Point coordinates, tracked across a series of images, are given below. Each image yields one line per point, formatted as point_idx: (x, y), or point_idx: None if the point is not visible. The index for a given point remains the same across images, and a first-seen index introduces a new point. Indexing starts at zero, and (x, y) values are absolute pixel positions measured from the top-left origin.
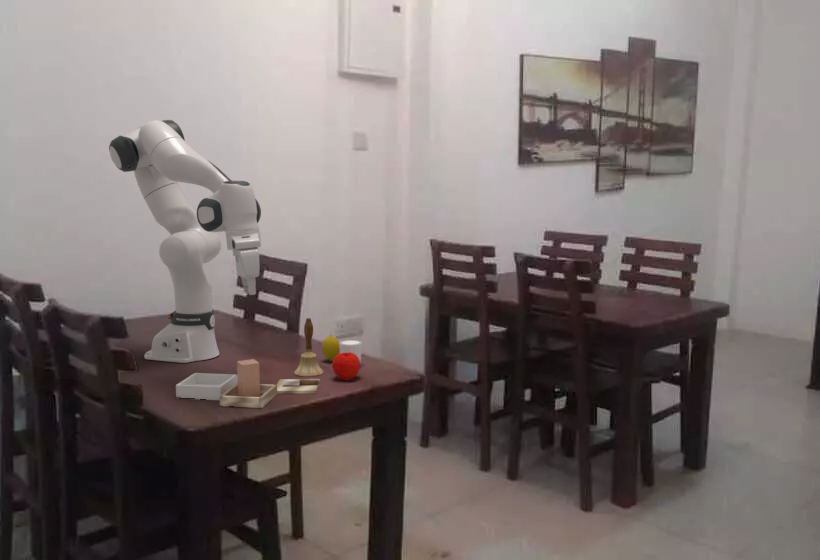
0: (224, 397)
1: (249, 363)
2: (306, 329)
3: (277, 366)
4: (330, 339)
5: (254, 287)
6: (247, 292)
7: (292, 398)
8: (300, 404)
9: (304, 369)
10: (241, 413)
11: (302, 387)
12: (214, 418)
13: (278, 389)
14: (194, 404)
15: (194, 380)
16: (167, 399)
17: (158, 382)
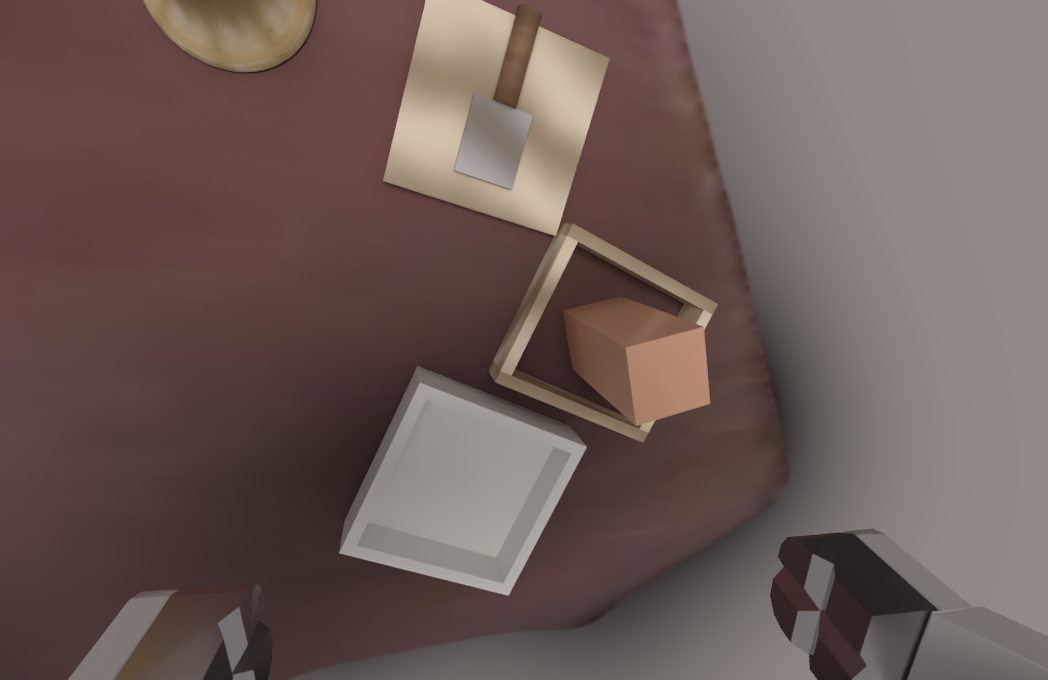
0: (649, 425)
1: (697, 371)
2: None
3: (29, 130)
4: None
5: (982, 622)
6: (267, 635)
7: (631, 174)
8: (708, 161)
9: (278, 13)
10: (719, 365)
11: (547, 105)
12: (730, 440)
13: (543, 214)
14: (581, 502)
15: (379, 536)
16: None
17: None
